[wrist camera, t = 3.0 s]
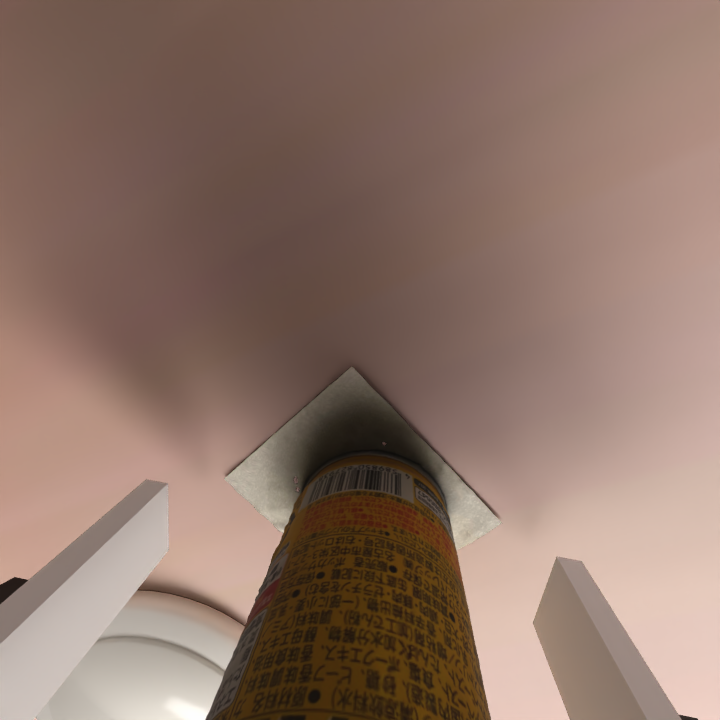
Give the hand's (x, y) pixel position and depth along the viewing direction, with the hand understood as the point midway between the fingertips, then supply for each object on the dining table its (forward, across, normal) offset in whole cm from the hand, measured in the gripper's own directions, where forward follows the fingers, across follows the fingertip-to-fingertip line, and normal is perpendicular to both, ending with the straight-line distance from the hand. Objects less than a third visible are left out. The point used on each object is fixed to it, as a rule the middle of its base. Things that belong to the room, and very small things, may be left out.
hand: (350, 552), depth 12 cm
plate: (+3, -8, -14) cm, 16 cm away
